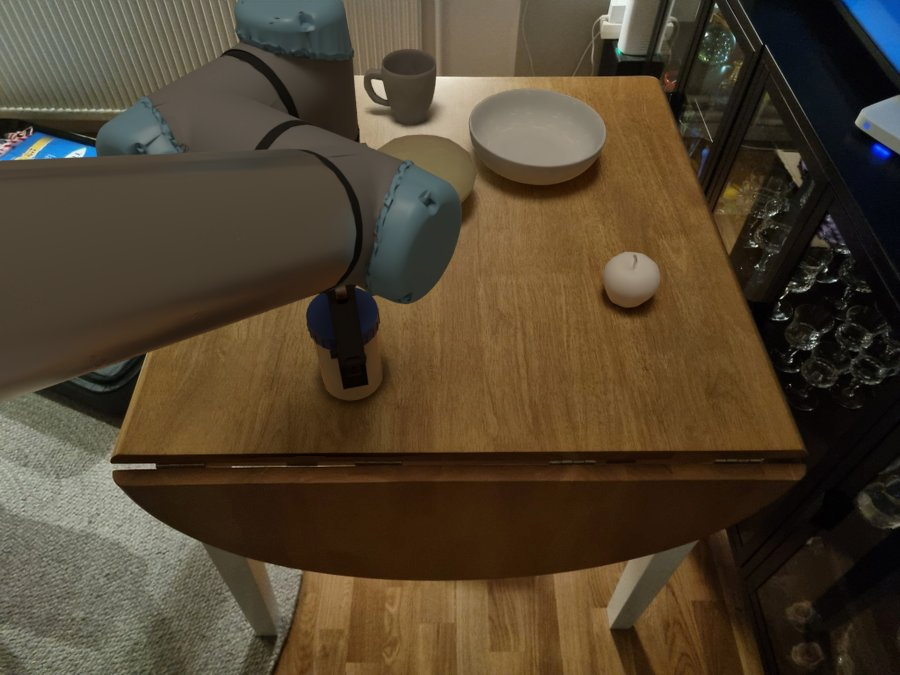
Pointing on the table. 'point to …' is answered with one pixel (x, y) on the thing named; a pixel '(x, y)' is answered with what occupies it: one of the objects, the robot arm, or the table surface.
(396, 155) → the flask
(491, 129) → the serving bowl
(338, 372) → the jar
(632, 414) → the table surface
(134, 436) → the table surface
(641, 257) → the apple
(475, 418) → the table surface
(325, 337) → the jar lid
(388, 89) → the mug
